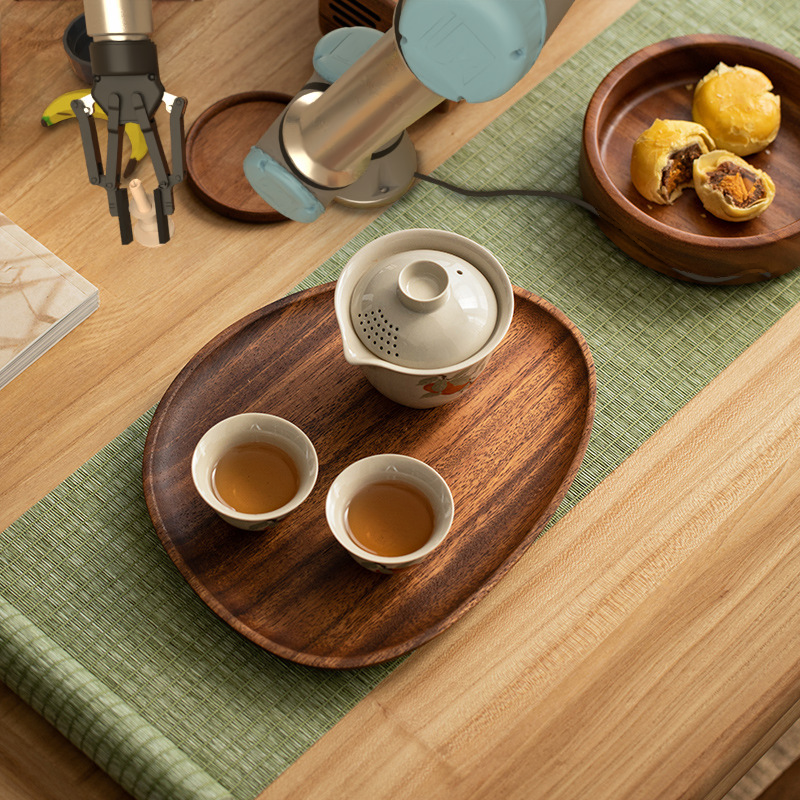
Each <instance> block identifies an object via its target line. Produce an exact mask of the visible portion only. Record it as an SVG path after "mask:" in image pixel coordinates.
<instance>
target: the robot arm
mask: <svg viewBox="0 0 800 800" xmlns="http://www.w3.org/2000/svg"><path fill="white" fill-rule="evenodd" d="M82 2H83V3H82V4H83V11H84V12H85V20H86V28H87V35H89V36H90V37H93V40H94V42H92V43H90V44H91V45H90V46H89V50H90V58H91V66H92V74H93V84H92V86H91V88H90V89H91V94H89V95H87V96H85V97H83V98H81V99H75V100H72V101H71V103H70V106H71V108H72V110H73V112H74V114H75V116H76V117H75V118H76V119H77V121H78V127H79V132H80V137H81V143H82V149H83V154H84V160H85V165H86V171H87V177H88V181H89V183H90V184H91V185H92V186H98V187H100V188H103V189H104V190H105V191H106V196H107V203H108V211H109V215H110V216H111V217H112V218H113V217H114V218H115V217H117V220H118V226H119V234H120V241H121V246H129V245H130V244H131V243H133V242H134V231H133V225H132V217H131V216H132V215H131V213H130V212H129V204H130V201H129V192H128V187H121V186H122V184H123V182H121V180H122V167H123V152H124V151H123V150H124V136H125V132H126V131H125V124H126V123H130V122H131V123H135V124H139V126H140V129H141V131H142V133H143V135H144V138H145V141H146V145H147V148H148V151H147V152H148V154H149V158H150V161H151V165H152V167H153V171H154V174H155V177H156V180H157V184H158V185H157V187H156V188H154V189H153V190H152V192H153V195H154V202H155V211H156V219H157V228H158V237H159V244H166V243H167V242H168V241H169V240H170V234H169V225H168V216H172V215H173V214H175V211H176V205H175V196H174V187H175V186H176V185H178V184H181V183H182V182H184V181H185V180H187V178H188V167H187V166H188V165H187V150H186V131H185V115H186V111H187V108H188V105H189V100H188V97H186V96H183V95H181V96H179V95H176V94H173V93H171V92H168V91H167V90H166V87H165V86H164V84H163V83H162V80H161V74H160V64H159V56H158V46H157V44H156V43H155V41H154V40H153V41H152V39H151V37H152V36H154V35H155V34H156V29H155V19H154V10H153V1H152V0H82ZM575 2H576V0H397V2H396V5H395V7H394V11H393V16H392V26H391V27H390V28H389V29H388V30H387V31H386V32H385V33H384V32H382V31H381V30H378V29H375V28H372V27H367V26H351V27H347V26H344V27H340V28H337V29H334V30H332V31H330V32H328V33H326V34H325V35H324V36H322V37H321V38H320V39H319V40H318V42H317V43H316V45H315V47H314V51H313V57H312V65H313V72H312V75H311V77H310V78H308V80H307V81H306V83H305V84H304V85H303V86H302V87H301V89H299V91H298V93H296V95H294V97H292V99H291V100H290V102H289V103H288V104H287V106H286V107H285V108H284V109H283V110H282V111H281V112H280V114H279V115H278V116H277V117H276V119H275V120H274V121H273V122H272V123H271V124H270V126H269V127H268V128H267V130H266V131H265V132H264V133H263V134H262V136H260V138H259V139H258V140H257V142H256V143H255V144H254V145H252V146H251V147H250V148H249V152H248V153H247V155H246V156H245V158H244V159H243V161H242V162H243V163H242V170H243V173H244V176H245V178H246V180H247V181H248V183H249V185H250V186H251V188H252V189H253V190H254V192H256V194H257V195H258V196H259V197H260V198H261V199H262V200H263V201H264V202H266V204H268V205H269V206H270V207H271V208H272V209H274V210H275V211H277V213H280V214H281V215H282V216H284V217H286V218H289V219H290V220H292V221H294V222H297V223H301V224H313V223H315V222H316V221H318V219H319V218H320V217H321V216H322V215H324V214H325V213H326V212H327V207H328V206H329V205H330V204H331V202H332V201H333V202H335V203H337V204H338V205H340V206H344V207H345V208H346V207H347V208H351V209H356V210H357V209H358V210H372V209H373V210H374V209H378V208H379V209H380V208H382V207H386V206H388V205H391V204H393V203H394V202H396V201H398V200H399V199H401V198H402V197H403V196H405V194H406V193H408V191H410V189H411V187H412V186H413V183H414V181H415V180H416V179H419V180H422V181H424V182H428V183H431V184H433V185H437V186H439V187H442V188H443V189H444V188H445V189H447V190H449V191H452V192H454V193H456V194H460V195H464V196H467V197H477V198H478V197H479V198H485V197H486V198H487V197H499V196H500V197H501V196H534V197H547V198H555V199H560V200H564V201H567V202H570V203H573V204H576V205H578V206H580V207H582V208H584V209H586V210H588V211H590V212H592V213H593V214H595V215H596V216H598V217H599V218H601V217H600V216H599V214H598V213H597V211H596V210H595V208H596V207H595V206H594V207H595V208H594V207H593V205H592V204H590V203H588V202H586V201H584V200H582V199H579V198H577V197H574V196H571V195H568V194H565V193H560V192H555V191H549V190H548V191H547V190H534V189H533V190H532V189H531V190H530V189H500V190H489V191H487V190H486V191H478V190H477V191H476V190H468V189H464V188H460V187H458V186H455V185H453V184H451V183H449V182H446V181H443V180H440V179H438V178H435V177H432V176H429V175H426V174H423V173H420V172H417V170H418V156H417V150H416V147H415V144H414V143H413V141H412V139H411V137H410V135H409V132H408V131H407V128H408V127H409V126H411V125H412V124H414V123H415V122H416V121H418V120H419V119H421V118H422V117H423V116H425V115H426V114H427V113H429V112H430V111H432V110H433V109H434V108H435V107H438V105H439V104H441V103H442V102H444V101H445V100H449V101H452V102H455V103H458V102H460V101H466V103H467V104H470V105H471V104H473V105H475V104H483V103H484V104H485V103H488V102H491V101H494V100H496V99H499V98H500V97H503V96H504V95H505V94H507V93H508V92H509V91H510V90H512V89H513V88H514V87H515V86H516V85H517V84H518V83H519V82H520V81H521V80H522V79H523V78H524V77H525V76H526V75H527V74H528V73H529V72H530V71H531V69H532V68H533V66H534V65H535V64H536V62H537V60H538V58H539V57H540V54H541V52H542V50H543V49H544V47H545V46H546V44H547V42H548V41H549V40H550V38H551V37H552V35H553V34H554V32H555V31H556V30H557V28H558V26H559V25H560V24H561V22H562V20H563V19H565V16H566V15H567V13H568V12H569V10H570V9H571V7H572V6H573V5H574V3H575ZM163 102H164V103H165V110H166V111H167V113H169V135H170V149H171V150H170V151H171V167H172V168H171V169H172V172H171V170H170V166H169V163H168V160H167V157H166V152H165V150H164V147H163V144H162V139H161V137H160V134H159V129H158V123H157V120H156V116H155V115H156V114H157V112H158V110H159V109H160V107H161V105H162V103H163ZM95 103H97V105H98V106H99V107H100V108H101V109H102V110H103V112H104V113H105V114H106V115H107V116H108V120H107V128H106V129H107V130H106V131H107V145H106V162H105V170H104V165H103V160H102V153H101V148H100V142H99V141H100V140H99V136H98V130H97V125H96V120H95V118H94V117H93V114H94V113H95V107H94V105H95ZM171 173H172V174H171ZM170 241H171V240H170ZM168 243H169V242H168ZM168 243H167V244H168ZM167 244H166V245H167ZM669 268H670V269H672V270H673V271H675V272H677V273H678V274H680V275H683V276H685V277H687V278H690V279H693V280H696V281H699V282H704V283H721V282H727V281H731V280H735V279H738V278H740V277H743V276H742V275H741V276H729V277H720V275H719V276H718V277H720V278H714V277H715V276H706V275H700V274H697V273H694V272H691V273H689V272H690V271H689V272H688V273H687V272H685V271H680V270H678V269H675V268H671V267H669ZM759 274H760V275H762V276H764V277H766V278H771V277H772V273H771V272H770V271H769V272H765V273H759Z"/></svg>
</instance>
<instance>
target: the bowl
mask: <svg viewBox="0 0 800 800" xmlns="http://www.w3.org/2000/svg"><path fill="white" fill-rule="evenodd" d="M61 41H62V45H63V49H64V52H65V54H66V56H67V59H68V61H69V64H70V66H71V69H72V70H73V72H74V73H75V75H76V77H78V78H79V79H80V80H83V81H84V82H85V83H88V84H91V85H93V74H92V66H91V58H90V50H89V46H90V45H91V44H90V43H92V42H94V40H93V37H90V36H89V35H87V28H86V20H85V11H84V12H82V13H79V14H78V15H77V16H76V17H75V18H73V19H72V20H71V21H70V22H69V23H68V25H67V26H66V28H65V29H64V31H63V35H62V40H61Z"/></svg>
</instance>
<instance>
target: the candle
mask: <svg viewBox="0 0 800 800" xmlns="http://www.w3.org/2000/svg"><path fill="white" fill-rule="evenodd" d="M128 184H129V185H128V187H129V190H130V193H131V195H132V199H131V200H130V201H129V212H130V216H132V217H133V218H134V219H136V220H137V221H136V222H135V225H134V227H133V237H134V239H135V240H136V241H137V243H138V244H140V246H143V247H144V248H149V249H157V248H162V247H163V246H165V245H167V244H168V243H170V242H171V241H172V239H174V236H175V234H176V225H175V223H174V220H173V219H172V218H171V217H170V215H168V225H169V234H170V240H169V241H168V242H167V243H166V244H159V237H158V228H157V219H156V211H155V202H154V193H153V194H152V193H148V192H146V189H145V188H144V186H143V183H142V181H141V179H139V178H134V179H131V181H130V182H129V183H128Z"/></svg>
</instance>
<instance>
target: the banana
mask: <svg viewBox="0 0 800 800" xmlns="http://www.w3.org/2000/svg"><path fill="white" fill-rule="evenodd" d="M89 94H91V88H80V89H75V90H71V91H67V92H65V93H63V94H61V95H59V96H58V97H56V98H54V99H53V100H52V102H50V104H49V105H48V106H46V108H45V109H44V111H43V114H42V116H41V119H40V123H41V124H40V125H41V126H42V127H43V128H49V127H50V126H51V125H55V124H57V123H59V122H61V121H64V120H67V119H71V118H77V117H76V116H75V114H74V112H73V110H72V108H71V106H70V103H71V101H72V100H75V99H81V98H83V97H85V96H87V95H89ZM94 107H95V113H94V114H93V117H94V119H102V120H106V121H108V116H107V115H106V114H105V113H104V112H103V110H102V109H101V108H100V107H99V106H98V105H97V103H95V105H94ZM124 132H125V133H126V135H127V136H128V138H129V141H130V144H131V154H130V156H129V159H128V162H127V164H126V166H125V169H124V172H123V175H122V177H123V179H124V180H125V179H128V177H129V176H130V175H131V174H132V173H133V172H134V171H135V169H136V167H137V164H138V162H139V161H141V160H142V159H143V158H144V157H145V156H146V154H147V153H148V152H149V151H148V148H147V145H146V141H145V138H144V135H143V133H142V131H141V129H140V126H139V124H135V123H131V122H130V123H126V124H125V131H124Z"/></svg>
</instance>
